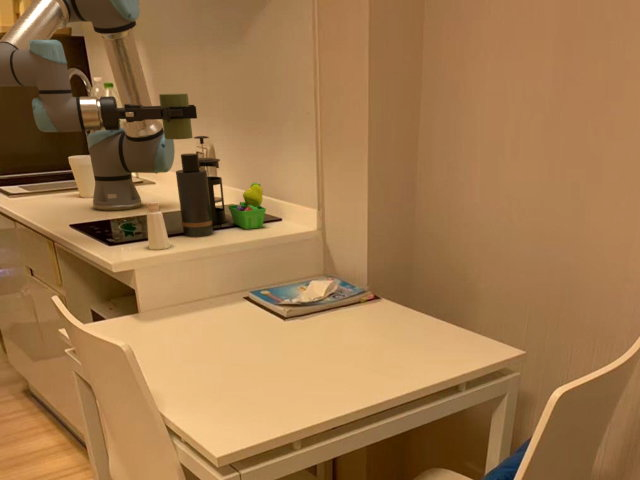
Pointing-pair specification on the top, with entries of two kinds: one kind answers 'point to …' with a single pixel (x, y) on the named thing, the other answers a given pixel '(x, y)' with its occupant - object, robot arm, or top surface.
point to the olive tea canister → (176, 126)
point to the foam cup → (83, 174)
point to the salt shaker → (156, 227)
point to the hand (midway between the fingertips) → (195, 111)
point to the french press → (216, 213)
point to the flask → (194, 197)
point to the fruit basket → (249, 209)
